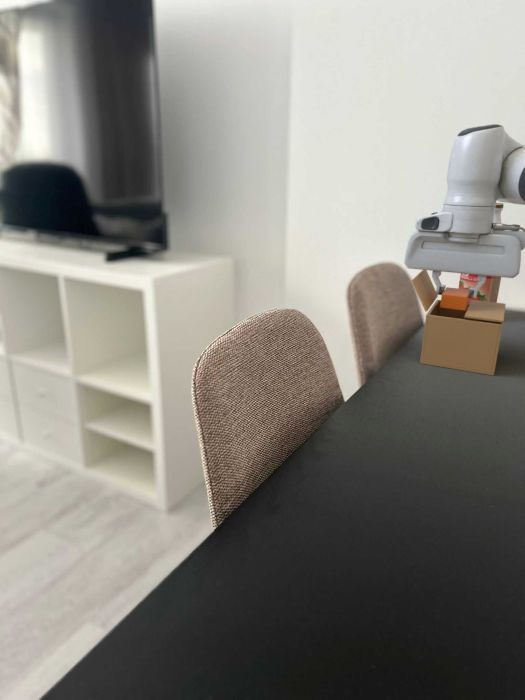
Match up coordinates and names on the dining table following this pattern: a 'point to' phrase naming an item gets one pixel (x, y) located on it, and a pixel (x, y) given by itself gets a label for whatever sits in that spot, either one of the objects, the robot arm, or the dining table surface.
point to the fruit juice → (492, 283)
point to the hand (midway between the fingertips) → (455, 296)
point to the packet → (455, 298)
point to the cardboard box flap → (425, 289)
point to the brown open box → (463, 336)
